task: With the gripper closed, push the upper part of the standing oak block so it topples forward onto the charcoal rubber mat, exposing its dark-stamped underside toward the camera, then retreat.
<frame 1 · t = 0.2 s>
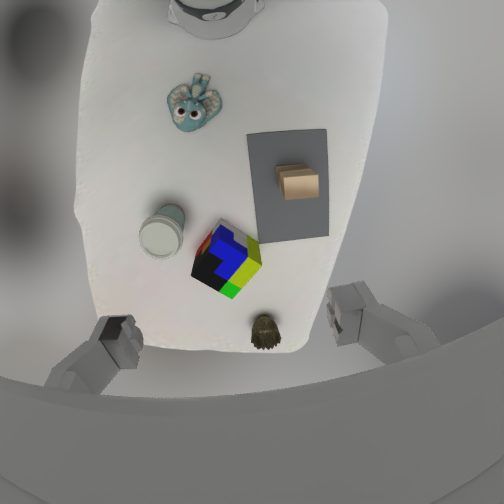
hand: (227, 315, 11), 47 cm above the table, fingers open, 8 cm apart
mat: (291, 187, 56), on the table
oak block: (291, 174, 55), resting on mat
stuffed animal: (195, 102, 47), on the table
coffee cup: (172, 216, 58), on the table
cup: (263, 318, 74), on the table
puzzle toy: (227, 246, 63), on the table
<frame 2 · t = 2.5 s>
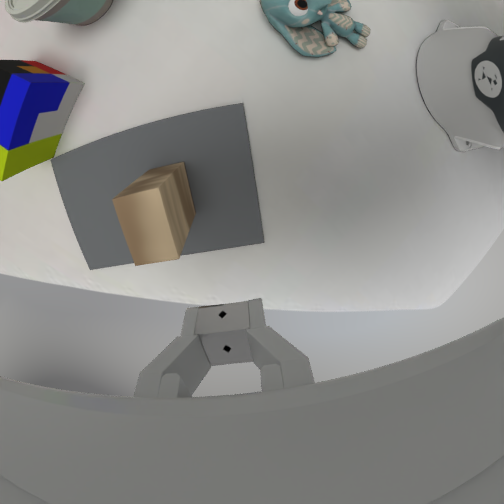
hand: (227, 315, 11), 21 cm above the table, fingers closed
mat: (149, 195, 29), on the table
oak block: (172, 191, 29), resting on mat
stuffed animal: (312, 19, 21), on the table
coffee cup: (92, 5, 17), on the table
puzzle toy: (43, 107, 23), on the table
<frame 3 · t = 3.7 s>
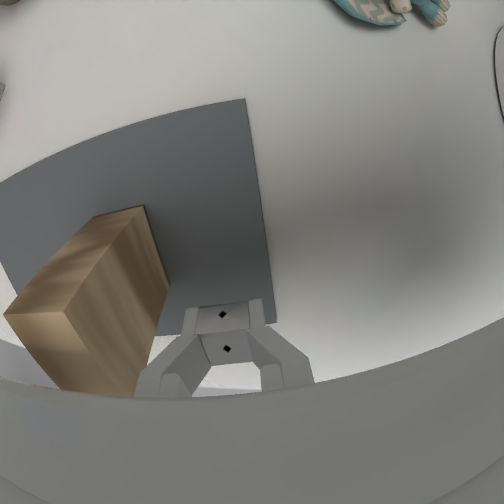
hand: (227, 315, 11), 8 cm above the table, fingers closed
mat: (98, 254, 18), on the table
oak block: (131, 251, 17), resting on mat
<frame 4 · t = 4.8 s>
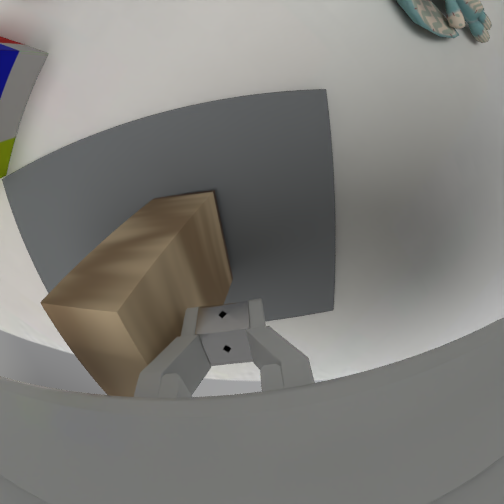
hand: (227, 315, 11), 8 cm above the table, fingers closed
mat: (153, 240, 18), on the table
oak block: (193, 239, 17), point 1 cm above the table, tilted 11°, touching mat
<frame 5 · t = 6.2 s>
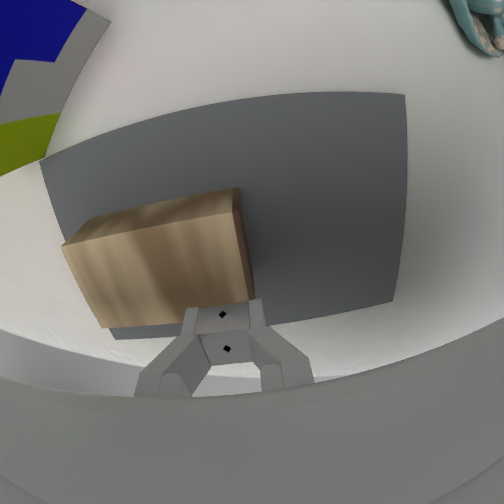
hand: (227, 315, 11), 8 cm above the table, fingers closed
mat: (230, 233, 18), on the table
oak block: (247, 248, 15), point 2 cm above the table, tilted 90°, touching mat
stuffed animal: (470, 8, 9), on the table
puzzle toy: (30, 69, 11), on the table
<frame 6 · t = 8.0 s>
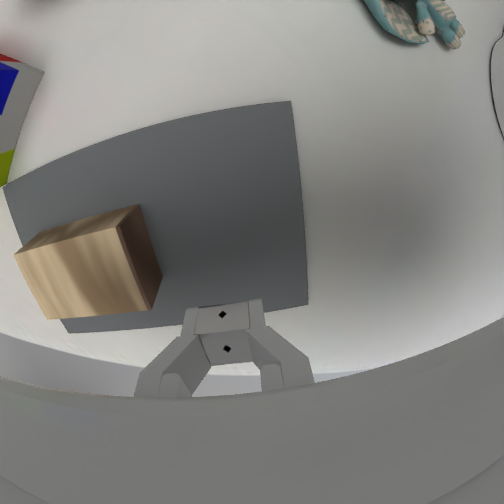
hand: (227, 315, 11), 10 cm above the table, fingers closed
mat: (140, 242, 20), on the table
oak block: (144, 255, 17), point 2 cm above the table, tilted 90°, touching mat
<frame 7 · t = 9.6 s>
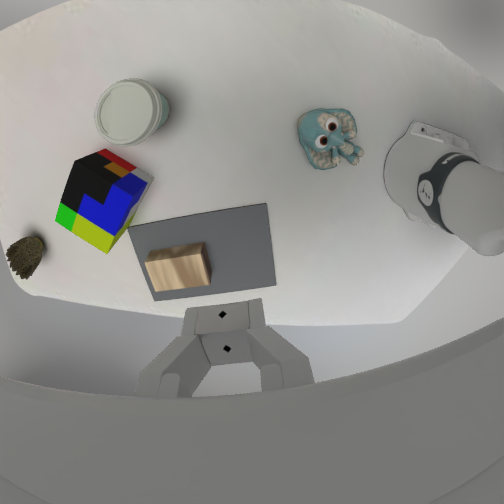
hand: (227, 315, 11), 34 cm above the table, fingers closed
mat: (203, 256, 48), on the table
oak block: (207, 263, 46), point 2 cm above the table, tilted 90°, touching mat
stuffed animal: (327, 137, 40), on the table
coffee cup: (152, 111, 36), on the table
cup: (39, 243, 45), on the table
puzzle toy: (117, 187, 41), on the table
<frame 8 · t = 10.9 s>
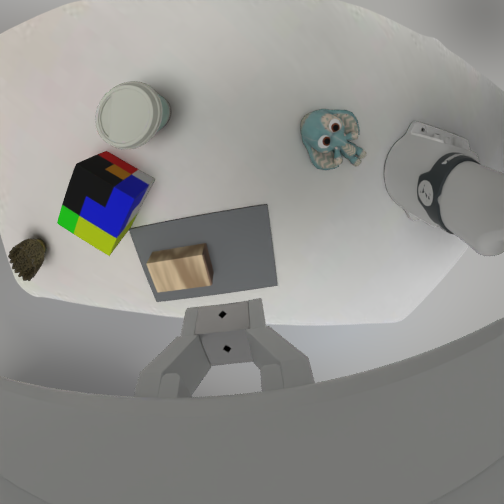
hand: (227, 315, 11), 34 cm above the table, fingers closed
mat: (204, 257, 49), on the table
oak block: (209, 264, 46), point 2 cm above the table, tilted 90°, touching mat
stuffed animal: (330, 138, 40), on the table
coffee cup: (152, 113, 36), on the table
cup: (41, 244, 45), on the table
puzzle toy: (118, 189, 42), on the table
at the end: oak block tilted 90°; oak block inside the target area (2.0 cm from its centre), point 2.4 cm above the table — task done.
